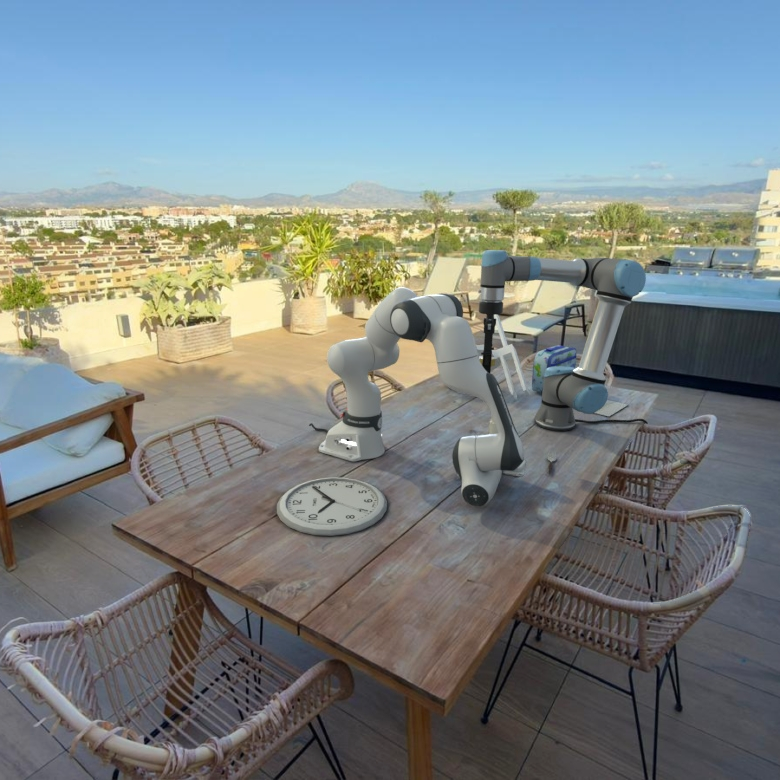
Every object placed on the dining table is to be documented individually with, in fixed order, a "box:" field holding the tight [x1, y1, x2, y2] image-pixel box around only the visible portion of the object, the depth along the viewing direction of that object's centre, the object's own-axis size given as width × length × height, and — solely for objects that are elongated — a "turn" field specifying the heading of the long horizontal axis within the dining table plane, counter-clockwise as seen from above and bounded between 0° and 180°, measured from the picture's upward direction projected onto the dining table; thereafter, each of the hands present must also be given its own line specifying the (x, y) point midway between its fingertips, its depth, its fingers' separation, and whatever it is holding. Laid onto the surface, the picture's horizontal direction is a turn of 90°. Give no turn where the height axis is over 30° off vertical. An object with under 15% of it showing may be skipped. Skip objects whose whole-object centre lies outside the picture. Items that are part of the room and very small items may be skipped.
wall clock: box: [276, 476, 388, 537], centre depth 142 cm, size 30×2×30 cm
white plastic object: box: [476, 314, 531, 400], centre depth 245 cm, size 37×45×31 cm
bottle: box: [488, 415, 498, 434], centre depth 160 cm, size 5×5×19 cm
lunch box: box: [531, 345, 577, 393], centre depth 245 cm, size 26×11×21 cm, turn 134°
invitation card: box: [594, 399, 629, 418], centre depth 226 cm, size 21×1×15 cm
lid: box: [479, 356, 495, 367], centre depth 171 cm, size 5×5×2 cm
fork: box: [547, 449, 557, 475], centre depth 169 cm, size 3×16×2 cm, turn 160°
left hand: (495, 452), depth 162 cm, fingers closed on bottle, 4 cm apart
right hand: (486, 371), depth 172 cm, fingers closed on lid, 5 cm apart
